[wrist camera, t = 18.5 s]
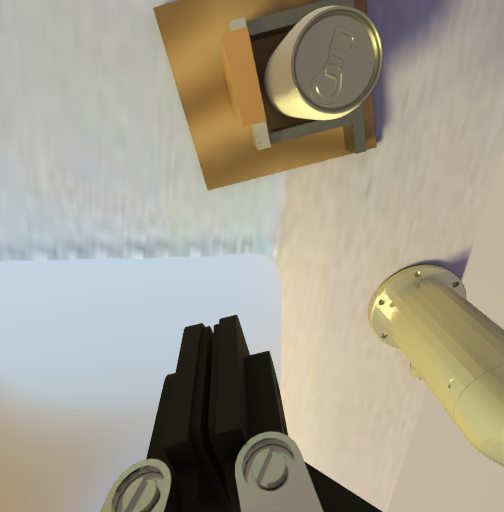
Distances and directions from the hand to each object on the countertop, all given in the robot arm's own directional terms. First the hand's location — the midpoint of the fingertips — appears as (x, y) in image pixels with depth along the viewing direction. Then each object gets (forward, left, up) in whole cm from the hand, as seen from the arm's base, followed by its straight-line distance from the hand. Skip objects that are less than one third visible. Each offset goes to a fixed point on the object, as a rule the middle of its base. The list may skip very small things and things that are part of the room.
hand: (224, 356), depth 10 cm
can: (+8, -9, -26) cm, 29 cm away
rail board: (+8, -8, -27) cm, 29 cm away
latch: (+8, -4, -26) cm, 27 cm away
